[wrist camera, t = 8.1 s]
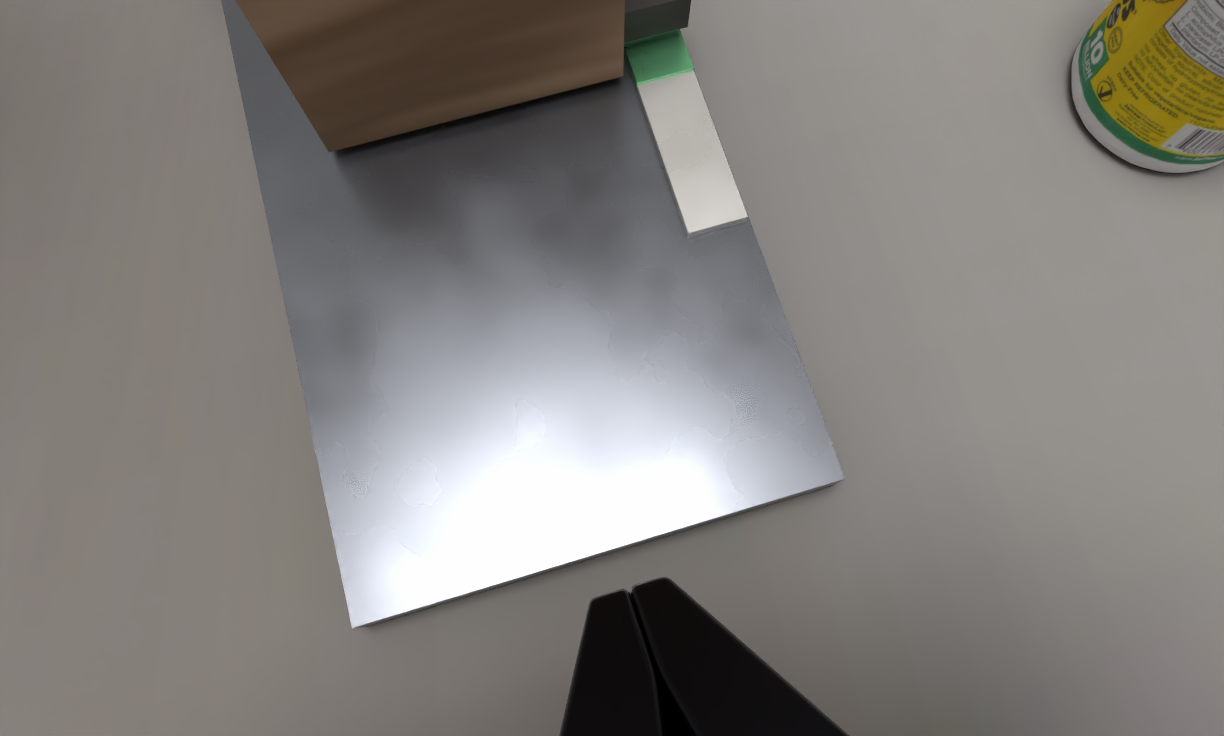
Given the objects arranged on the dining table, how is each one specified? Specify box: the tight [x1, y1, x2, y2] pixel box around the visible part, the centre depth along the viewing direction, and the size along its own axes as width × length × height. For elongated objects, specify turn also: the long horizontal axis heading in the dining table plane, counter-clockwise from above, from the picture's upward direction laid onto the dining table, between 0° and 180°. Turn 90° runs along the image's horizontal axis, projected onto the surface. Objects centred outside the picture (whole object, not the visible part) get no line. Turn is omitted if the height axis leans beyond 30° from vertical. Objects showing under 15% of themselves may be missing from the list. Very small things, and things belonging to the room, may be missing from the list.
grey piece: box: [222, 0, 845, 628], centre depth 19 cm, size 22×12×11 cm, turn 17°
